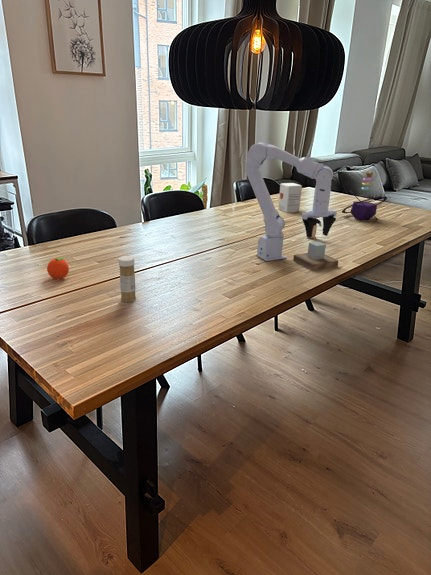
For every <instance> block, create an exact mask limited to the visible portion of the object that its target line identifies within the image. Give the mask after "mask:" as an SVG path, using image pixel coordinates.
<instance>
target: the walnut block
mask: <svg viewBox="0 0 431 575" xmlns="http://www.w3.org/2000/svg"><path fill="white" fill-rule="evenodd" d="M307 255H308V252H305V253H297V254H293V259H292V261H293V262H295V263H296V264H298V265H300V266H302V267H304V268H306V269H308V270H310V271H312V272H314V271H321V270H326V269H332V268H337V267H338V266H339V262H340V261H339V260H338V259H336V258H334V257H333V256H330V255H327V254H325V256H324V259H318V260H314V259H312V258H310V257H308V256H307Z"/></svg>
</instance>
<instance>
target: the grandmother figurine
mask: <svg viewBox="0 0 431 575" xmlns="http://www.w3.org/2000/svg"><path fill="white" fill-rule="evenodd" d="M312 219H313V220H314V221H316V222H315V224H314V227H313V231H312V237H311V238H309V237H307V236H306V237H305V238H306V239H313V240H315V239H317V238H316V235H317V228H318V226H319V227H323V224H322V222H321V220H320V219H319V218H312Z"/></svg>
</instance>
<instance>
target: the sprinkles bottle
mask: <svg viewBox="0 0 431 575" xmlns="http://www.w3.org/2000/svg"><path fill="white" fill-rule="evenodd" d="M118 265H119V284H120V296H121V298H120V300H121V301H122V302H124V303H132V302H134V301H136V300H137V297H136V275H135V274H136V273H135V257H134V256H130V255H124V256H120V257H119V258H118Z"/></svg>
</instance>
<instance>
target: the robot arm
mask: <svg viewBox="0 0 431 575" xmlns="http://www.w3.org/2000/svg"><path fill="white" fill-rule="evenodd" d="M273 159H276V160H279V161H281V162H284V163H285V164H288V165H291V166H292V167H295V168H296V172H298V173H299V174H302V175H303V176H306V177H308V178H310V179H312V180H314V179H315V181H316V183H315V187H314V193H313V194H314V195H313V201H312V210H311V211H308V212H302V215H301V221H302V222H303V223H302V224H303V226H304V228H305V234H306V235H305V236H306V237H309V238H310V239H312V238H311V237H312V231H313V227H314V224H315V222H316V221H314V220H313V219H312V218H317V219H319V218H322V236H325V237H328V235H329V233H330V230H331V227H332V226H333V224H334V223H335V222H336V221H337V214H338V211H337V210H333V209H332V210H329V205H330V199H331V192H332V188H331V186H332V180H333V176H334V171H333V170H332V168H331V167H329V165H324V163H322V162H321V163H319V162H317V161H315V160H313V159H312V157H311V156H307V157H306V156H303V157H301V158H300V157H298V156H296V155H293V154H292V153H290V152H288V151H287V150H284V149H282V148H281V147H278V146H277V145H273V144H270V143H268V142H265V141H259V142H258V143H254V144H252V145H251V146H250V148H249V150H248V151H247V153H246V164H245V174H246V176H247V179H248V181H249V183H250V187H251V188H252V190H253V193H254V196H255V197H256V201H257V203H258V204H259V207H260V210H261V212H262V217H263V223H264V235H263V236H260V237H259V238H258V240H257V249H256V250H257V251H256V254H255V255H256V257H259V258H260V259H261V260H264V261H266V262H270V261H275V260H284V259H287V256H285V255H283V247H284V246H283V245H284V236H285V235H284V231H282V230H283V229H285V227H286V226H285V225H286V222H285V219H284V218H283V217H282V216H281V215H280V212H279V210H277V209H276V207H275V205H274V203H273V200H272V198H271V195H270V193H269V189H268V188H267V184H266V183H265V180H264V177H263V175H262V172H261V168H262V166H263V164H264V162H265V161H266V160H273Z"/></svg>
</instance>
